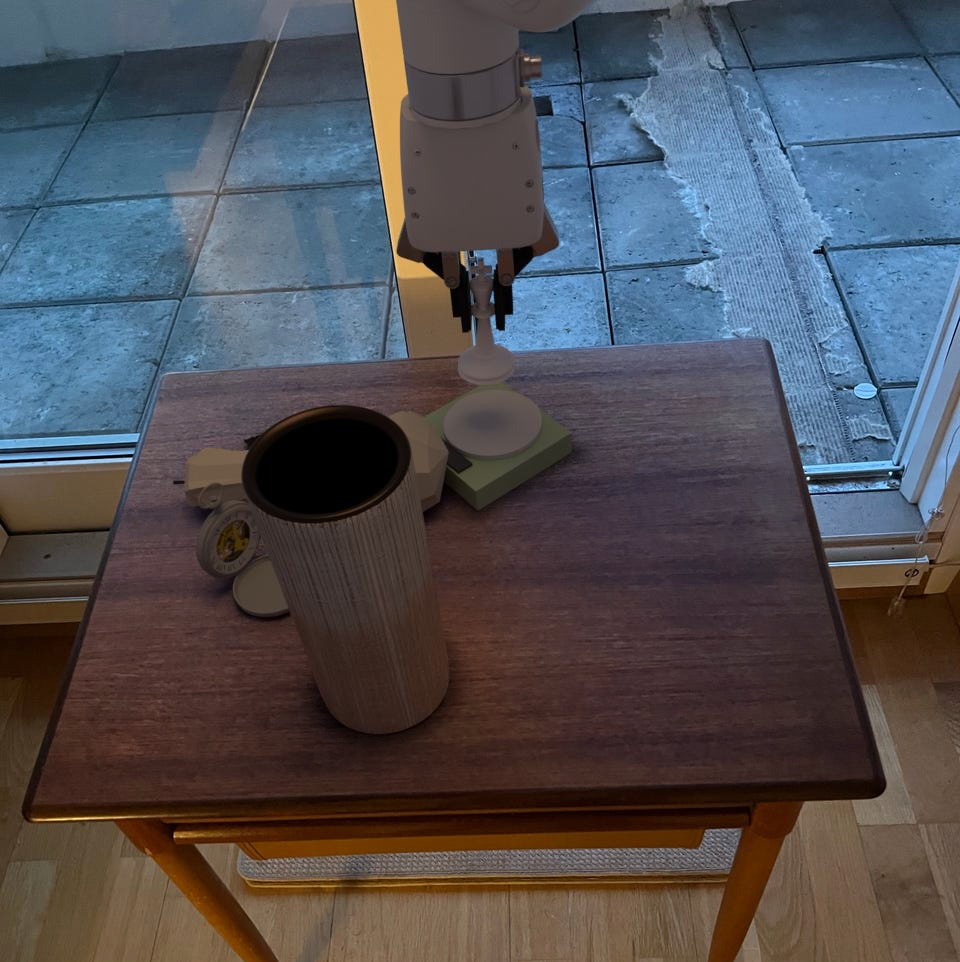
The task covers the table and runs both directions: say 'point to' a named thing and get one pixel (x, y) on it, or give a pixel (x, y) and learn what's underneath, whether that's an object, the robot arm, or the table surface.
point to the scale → (496, 442)
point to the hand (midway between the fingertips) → (484, 320)
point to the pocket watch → (238, 556)
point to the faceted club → (229, 463)
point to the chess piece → (484, 337)
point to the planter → (352, 561)
